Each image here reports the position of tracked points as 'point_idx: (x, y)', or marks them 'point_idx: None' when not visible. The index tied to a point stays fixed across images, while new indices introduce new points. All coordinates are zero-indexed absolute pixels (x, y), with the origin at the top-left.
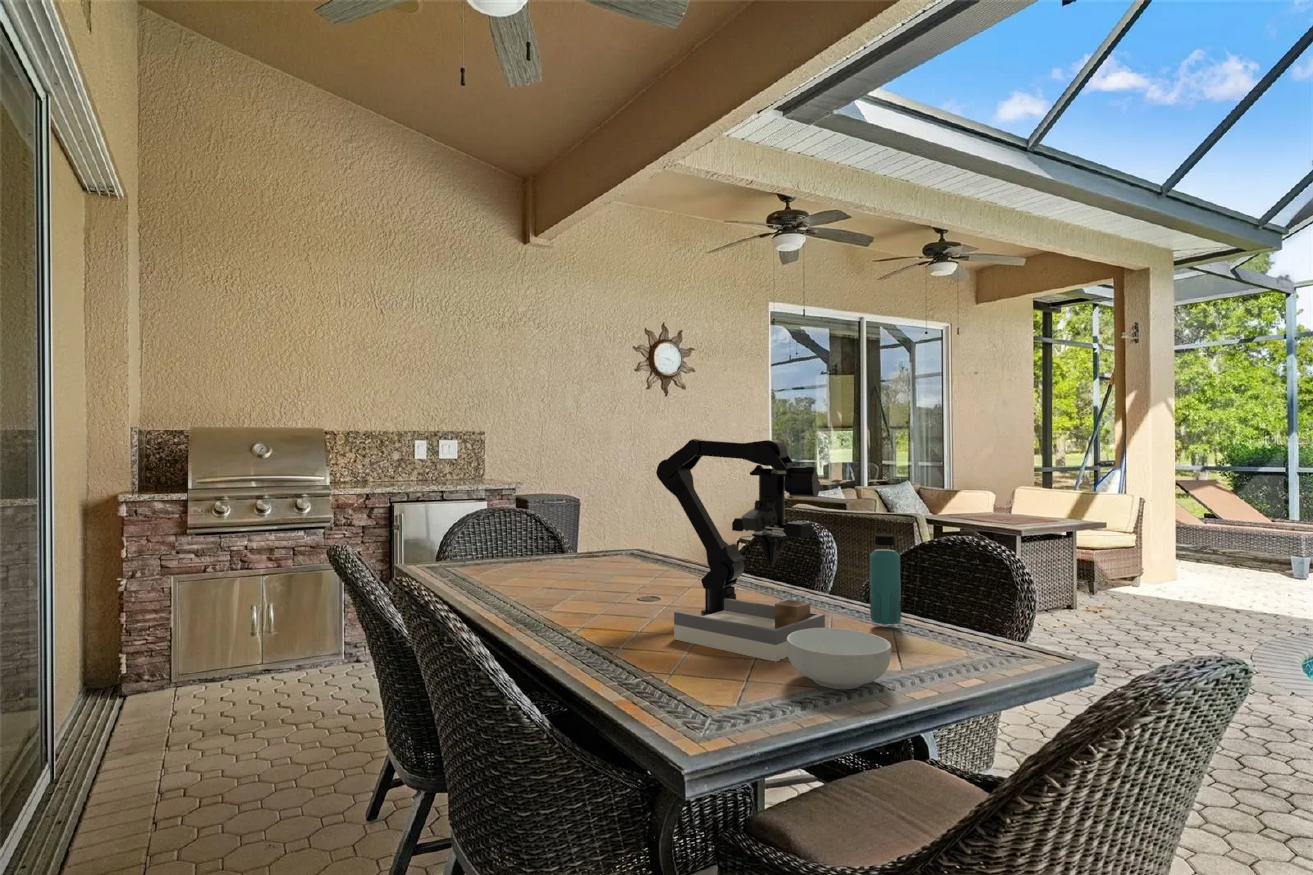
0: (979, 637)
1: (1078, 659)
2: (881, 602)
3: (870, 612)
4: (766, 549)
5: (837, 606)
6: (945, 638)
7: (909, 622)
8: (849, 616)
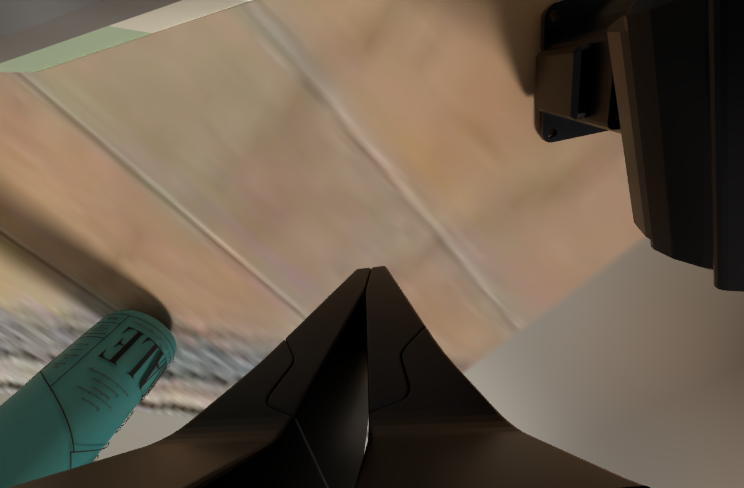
0: None
1: None
2: (62, 354)
3: (135, 330)
4: (381, 344)
5: None
6: (35, 340)
7: (183, 388)
8: None
